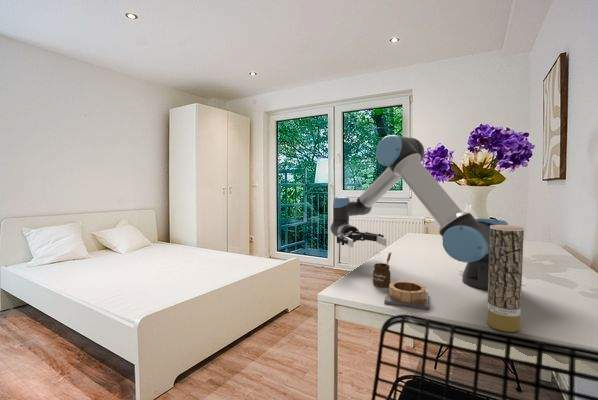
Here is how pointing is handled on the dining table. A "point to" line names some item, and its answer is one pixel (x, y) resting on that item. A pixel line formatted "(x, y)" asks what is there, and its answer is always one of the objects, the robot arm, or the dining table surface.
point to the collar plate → (407, 295)
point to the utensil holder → (381, 273)
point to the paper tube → (505, 277)
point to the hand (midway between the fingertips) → (369, 243)
